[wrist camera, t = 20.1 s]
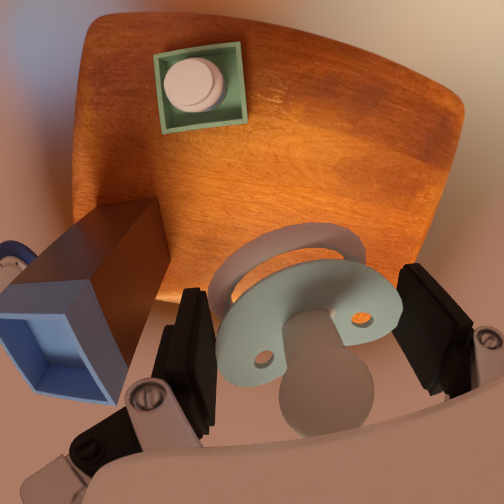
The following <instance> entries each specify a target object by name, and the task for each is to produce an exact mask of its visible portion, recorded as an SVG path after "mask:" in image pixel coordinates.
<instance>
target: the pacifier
mask: <svg viewBox="0 0 504 504" xmlns="http://www.w3.org/2000/svg"><path fill="white" fill-rule="evenodd" d="M302 248H327V249H331V250H335V251H337V252H338V253H340V254H341V255H343V256H344V260H342V259H320V260H313V261H307V262H302V263H298V264H295V265H292V266H289V267H286V268H283V269H281V270H279V271H276V272H274V273H272V274H270V275H268V276H266V277H265V278H263V279H261V280H260V281H258V282H257V283H256V284H254V285H253V286H252V287H250V288H249V289H248V290H246V291H245V292H244V293H243V294H242V295H241V296H240V297H239V298H238V299H237V300H236V301H235V302H234V303H233V302H232V299H231V294H232V292H233V290H234V288H235V287H236V285H237V283H238V282H239V281H240V280H241V279H242V278H243V277H244V276H245V275H246V274H247V273H248V272H249V271H251V270H252V269H253V268H255V267H256V266H258V265H259V264H260V263H262V262H264V261H266V260H268V259H270V258H272V257H274V256H276V255H279V254H282V253H285V252H288V251H291V250H297V249H302ZM365 264H366V253H365V247H364V245H363V243H362V241H361V240H360V238H359V237H358V236H357V235H356V234H354V233H353V232H352V231H350V230H349V229H348V228H345V227H341V226H338V225H335V224H332V223H314V222H309V223H303V224H296V225H290V226H286V227H283V228H280V229H277V230H274V231H271V232H268V233H265V234H263V235H261V236H260V237H258V238H256V239H254V240H252V241H250V242H248V243H246V244H245V245H243V246H242V247H241V248H240V249H238V250H237V251H236V252H235V253H233V254H232V255H231V256H229V257H228V258H227V259H226V260H225V261H224V263H223V264H222V265H221V266H220V267H219V269H218V270H217V271H216V272H215V274H214V276H213V278H212V280H211V282H210V285H209V287H208V303H209V306H210V309H211V311H212V313H213V314H214V315H215V316H216V317H217V318H218V319H219V320H220V321H221V324H220V326H219V329H218V331H217V337H216V344H215V347H216V352H215V354H216V359H217V366H218V369H219V371H220V373H221V375H222V376H223V377H224V379H226V380H227V381H228V382H229V383H231V384H234V385H236V386H240V387H254V386H258V385H261V384H265V383H268V382H270V381H272V380H274V379H276V378H278V377H279V376H281V375H283V374H284V373H285V374H284V376H283V378H282V381H281V385H280V390H279V404H280V409H281V412H282V415H283V417H284V419H285V420H286V422H287V423H288V425H289V426H290V427H291V428H292V429H293V430H294V431H295V432H296V433H297V434H299V435H301V436H303V437H304V438H309V437H315V436H321V435H326V434H331V433H336V432H341V431H346V430H351V429H355V428H360V427H361V426H362V425H363V423H364V422H365V420H366V418H367V417H368V415H369V413H370V411H371V408H372V404H373V400H374V384H373V379H372V376H371V373H370V371H369V369H368V367H367V366H366V364H365V363H364V362H363V361H362V359H360V358H359V357H358V356H357V355H356V354H354V353H353V352H351V351H350V350H347V349H345V347H344V346H350V345H358V344H362V343H367V342H371V341H373V340H376V339H379V338H381V337H383V336H384V335H386V334H388V333H389V332H391V331H392V330H393V329H394V328H395V327H396V326H397V324H398V321H399V318H400V316H401V314H402V311H403V305H402V300H401V298H400V296H399V294H398V292H397V290H396V289H395V288H394V286H393V285H392V284H391V283H390V282H389V281H388V280H387V279H386V278H385V277H384V276H382V275H381V274H380V273H379V272H377V271H376V270H374V269H373V268H371V267H369V266H366V265H365ZM359 312H365V313H368V314H370V315H371V318H370V320H369V321H368V322H366V323H363V324H357V323H354V322H352V321H351V318H352V316H353V315H354V314H356V313H359ZM264 350H270V351H272V352H273V356H272V357H271V359H270V360H269V361H268V362H266V363H263V364H258V363H256V362H255V361H254V360H255V357H256V356H257V355H258V354H259V353H260V352H262V351H264Z"/></svg>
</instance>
